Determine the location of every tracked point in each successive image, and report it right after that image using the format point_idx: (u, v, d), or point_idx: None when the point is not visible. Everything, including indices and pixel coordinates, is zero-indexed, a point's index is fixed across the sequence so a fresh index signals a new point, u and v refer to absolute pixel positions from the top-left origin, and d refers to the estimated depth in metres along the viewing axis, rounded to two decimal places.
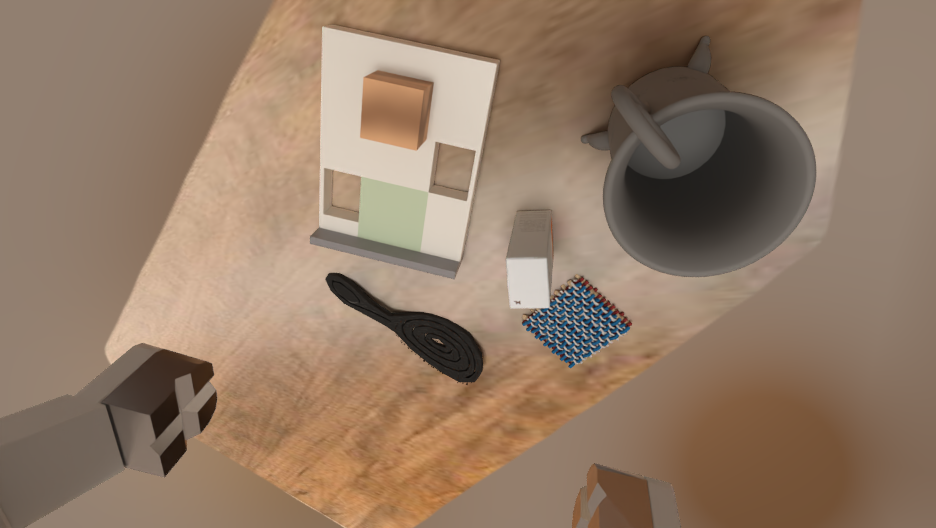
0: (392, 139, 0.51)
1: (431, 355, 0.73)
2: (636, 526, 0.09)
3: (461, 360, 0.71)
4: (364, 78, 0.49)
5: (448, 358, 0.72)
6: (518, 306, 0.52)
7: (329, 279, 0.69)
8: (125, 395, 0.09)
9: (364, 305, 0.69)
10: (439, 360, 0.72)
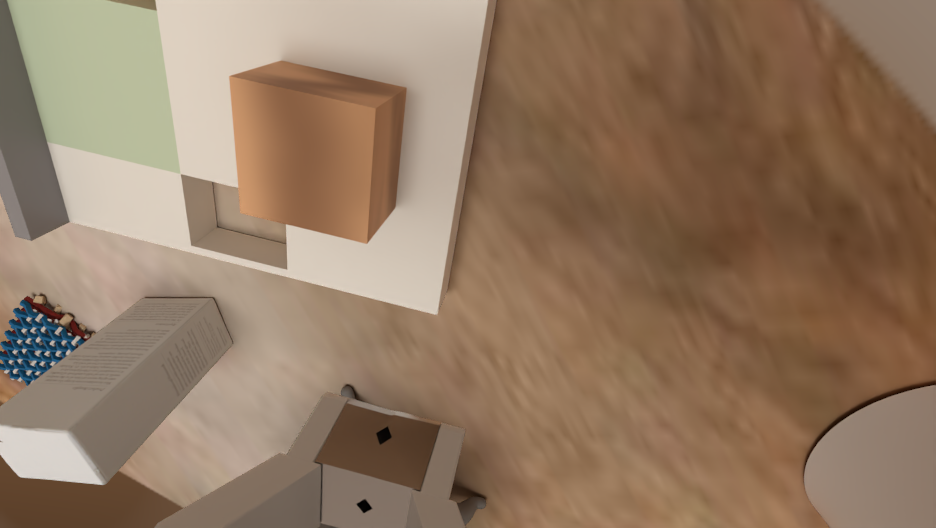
0: (249, 162, 0.22)
1: None
2: (409, 464, 0.09)
3: None
4: (373, 110, 0.19)
5: None
6: None
7: None
8: (335, 453, 0.09)
9: None
10: None
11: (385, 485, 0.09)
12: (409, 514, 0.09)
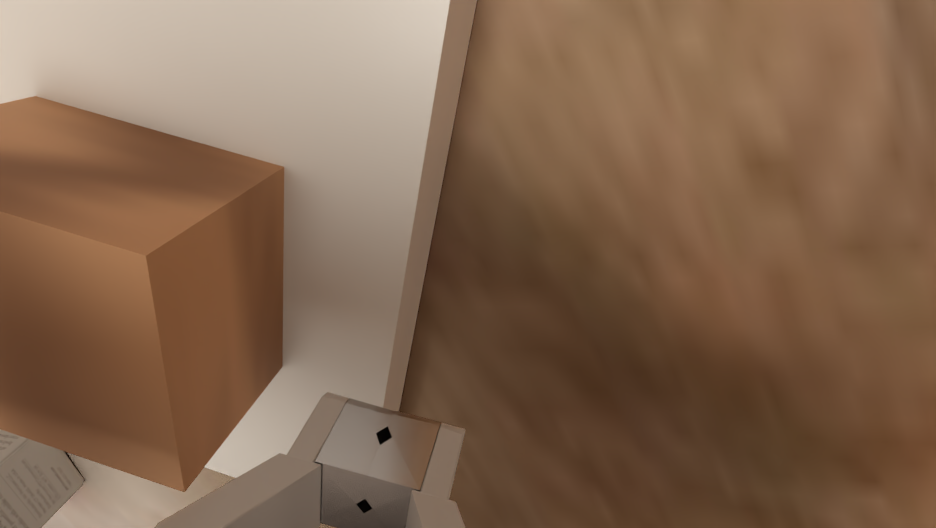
0: None
1: None
2: (409, 464, 0.09)
3: None
4: (140, 259, 0.08)
5: None
6: None
7: None
8: (335, 454, 0.09)
9: None
10: None
11: (385, 485, 0.09)
12: (409, 514, 0.09)
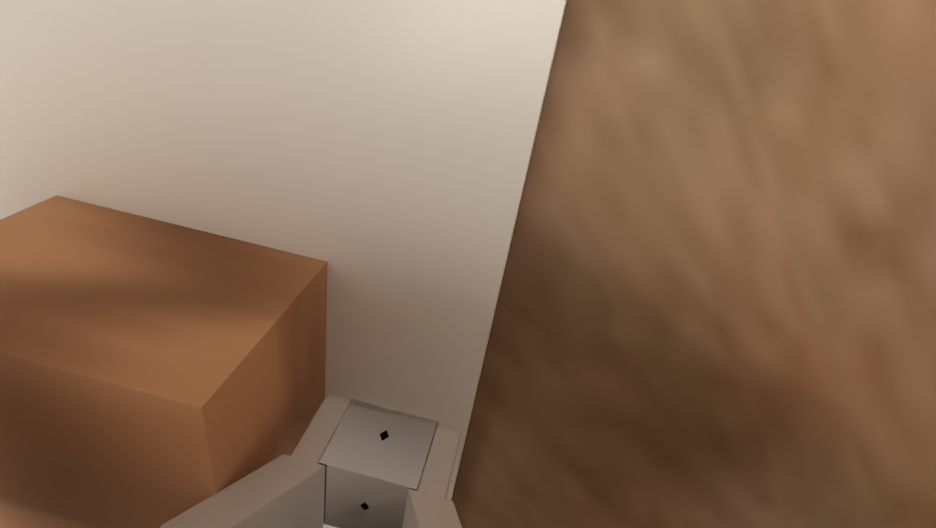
0: None
1: None
2: (406, 463, 0.09)
3: None
4: (195, 411, 0.07)
5: None
6: None
7: None
8: (339, 454, 0.09)
9: None
10: None
11: (382, 484, 0.09)
12: (406, 513, 0.09)
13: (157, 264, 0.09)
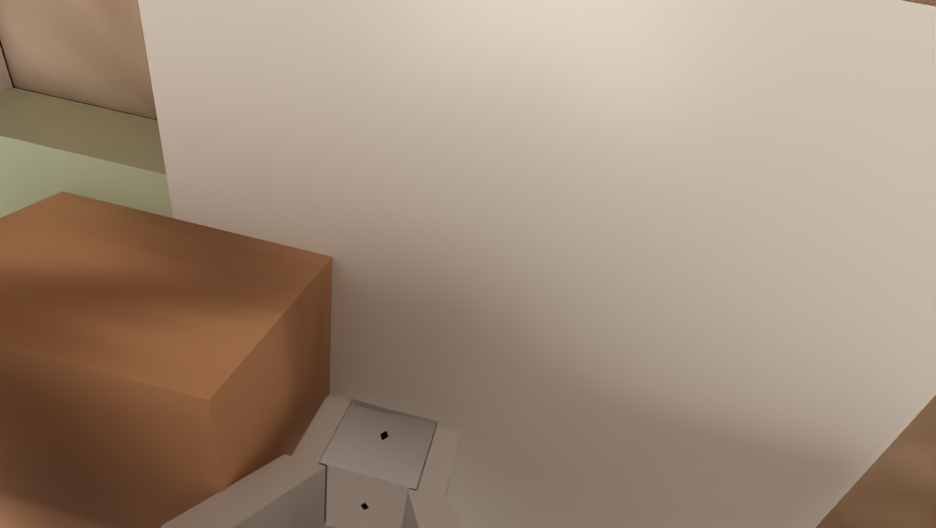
0: None
1: None
2: (406, 463, 0.09)
3: None
4: (202, 403, 0.07)
5: None
6: None
7: None
8: (340, 454, 0.09)
9: None
10: None
11: (381, 484, 0.09)
12: (405, 513, 0.09)
13: (163, 259, 0.09)
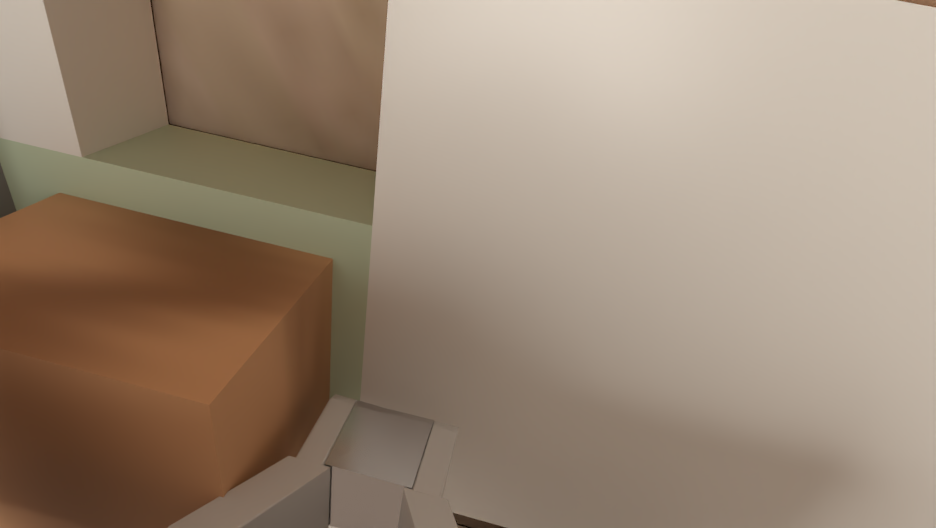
0: None
1: None
2: (402, 462, 0.09)
3: None
4: (203, 408, 0.07)
5: None
6: None
7: None
8: (344, 455, 0.09)
9: None
10: None
11: (377, 483, 0.09)
12: (401, 512, 0.09)
13: (162, 261, 0.09)
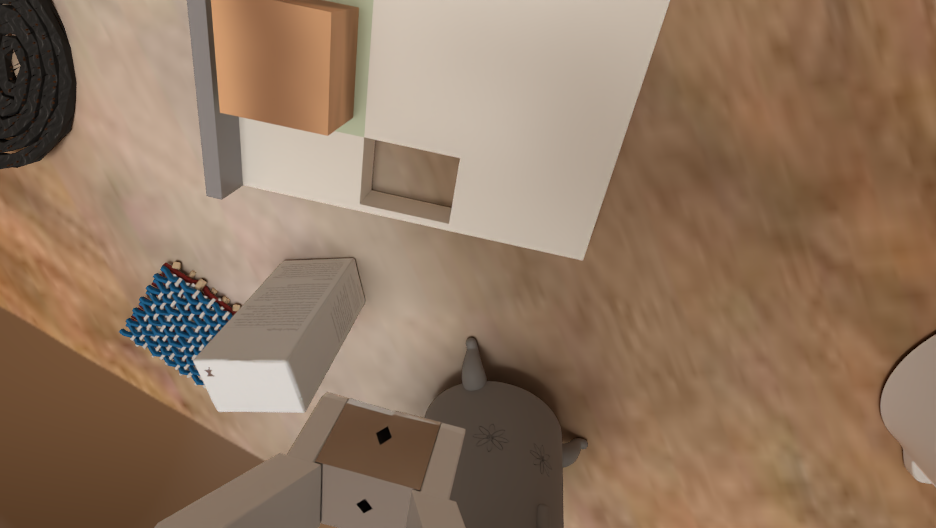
0: (227, 65, 0.26)
1: None
2: (409, 464, 0.09)
3: (0, 121, 0.35)
4: (329, 14, 0.24)
5: None
6: (202, 373, 0.30)
7: None
8: (335, 454, 0.09)
9: None
10: None
11: (385, 485, 0.09)
12: (409, 514, 0.09)
13: None
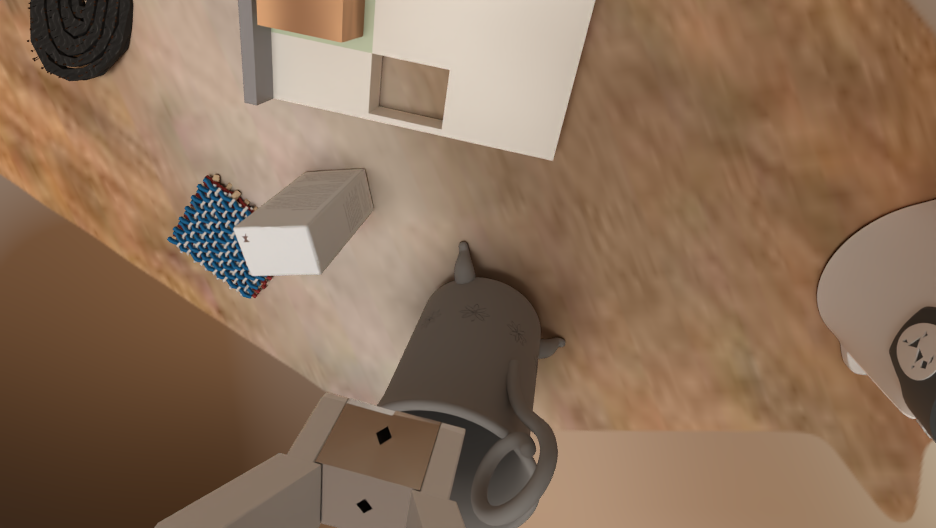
0: None
1: None
2: (409, 464, 0.09)
3: (72, 40, 0.43)
4: None
5: (63, 14, 0.43)
6: (239, 239, 0.37)
7: None
8: (335, 453, 0.09)
9: None
10: None
11: (385, 485, 0.09)
12: (409, 514, 0.09)
13: None
